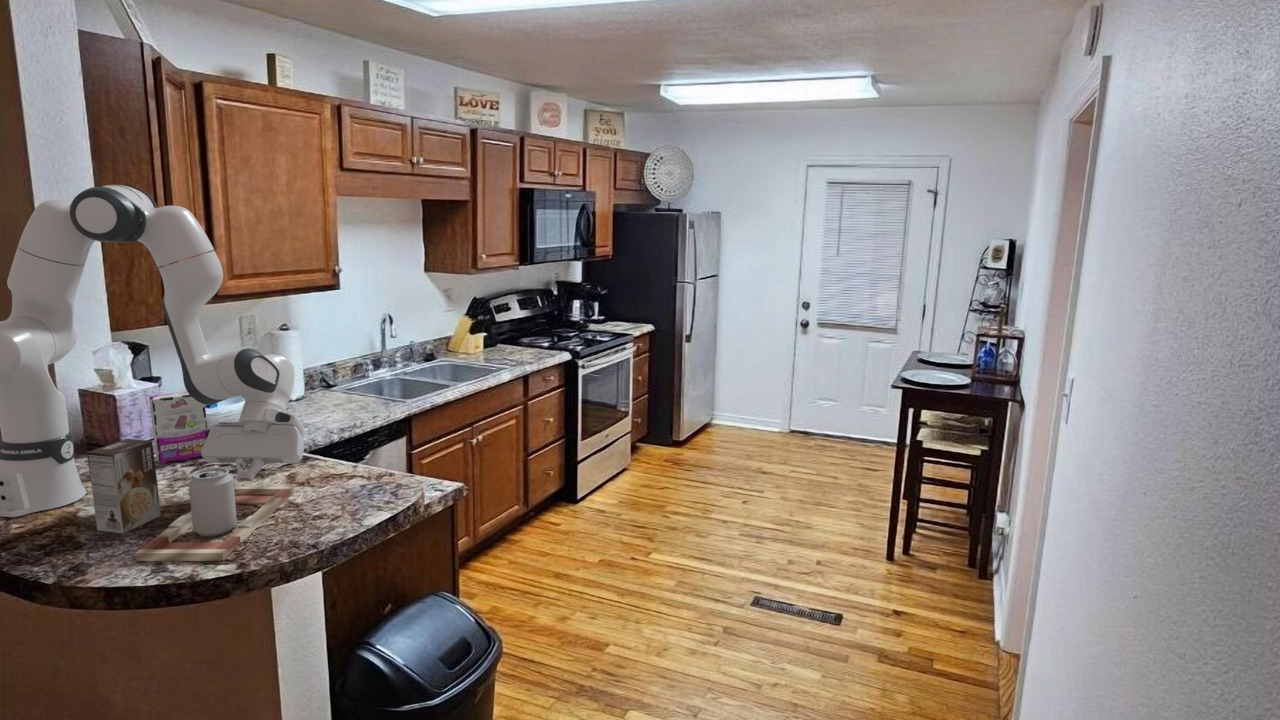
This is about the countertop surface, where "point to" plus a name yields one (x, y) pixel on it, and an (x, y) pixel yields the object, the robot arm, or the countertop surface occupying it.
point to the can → (212, 501)
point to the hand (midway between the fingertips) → (244, 480)
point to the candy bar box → (178, 427)
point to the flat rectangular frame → (214, 551)
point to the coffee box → (124, 485)
